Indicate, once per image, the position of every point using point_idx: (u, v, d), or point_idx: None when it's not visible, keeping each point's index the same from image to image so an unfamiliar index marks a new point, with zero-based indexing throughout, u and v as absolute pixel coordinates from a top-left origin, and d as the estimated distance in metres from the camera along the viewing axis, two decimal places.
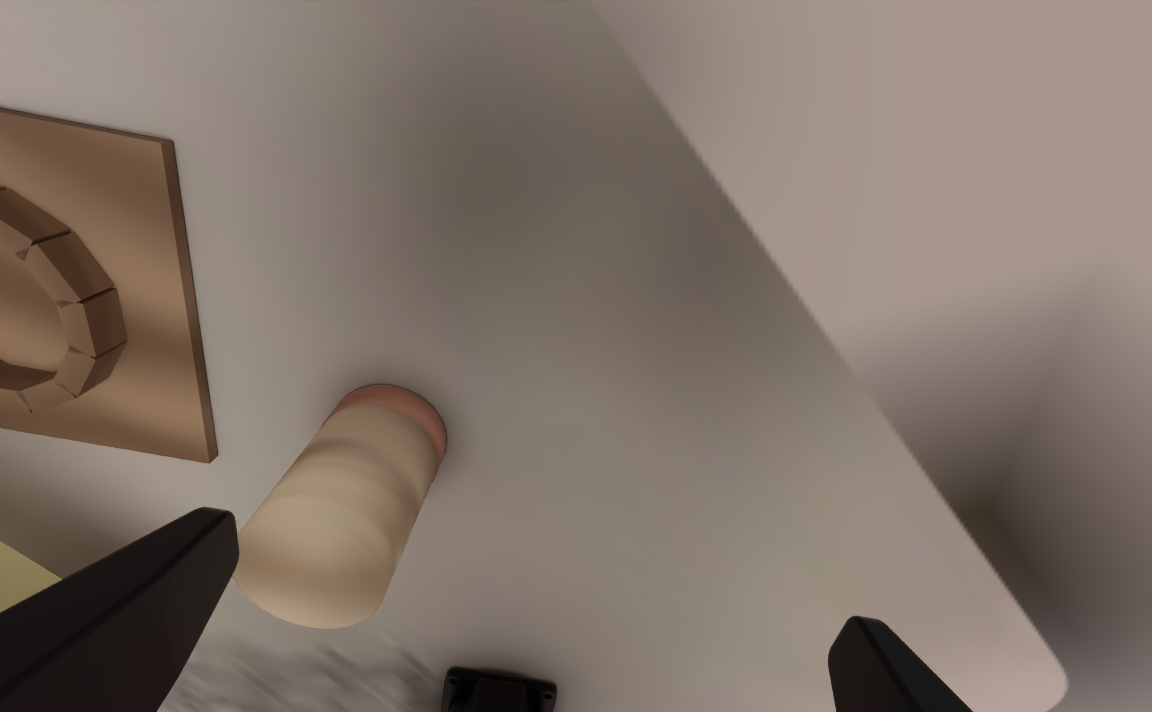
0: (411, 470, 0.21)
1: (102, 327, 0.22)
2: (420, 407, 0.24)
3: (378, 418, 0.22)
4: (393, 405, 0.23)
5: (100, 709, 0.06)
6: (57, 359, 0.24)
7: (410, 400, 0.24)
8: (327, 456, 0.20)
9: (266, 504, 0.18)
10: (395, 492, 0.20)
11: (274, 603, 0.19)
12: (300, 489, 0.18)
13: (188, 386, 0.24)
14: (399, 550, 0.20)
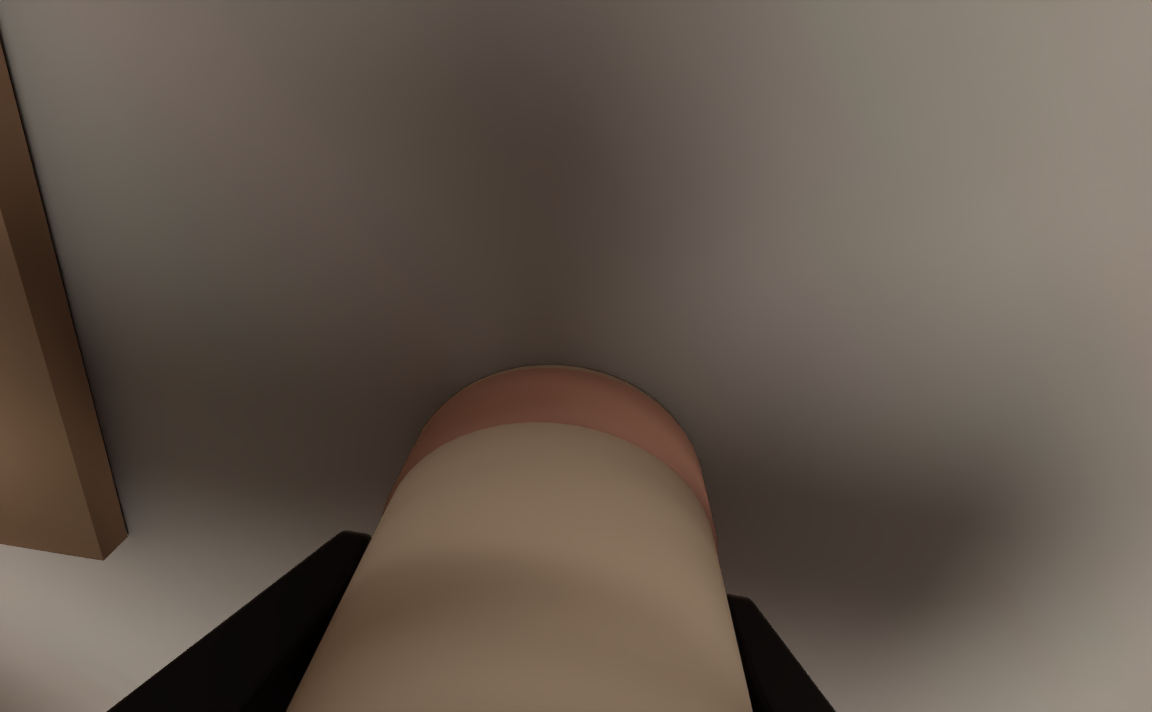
0: (737, 658, 0.06)
1: None
2: (668, 428, 0.08)
3: (595, 469, 0.07)
4: (613, 423, 0.08)
5: None
6: None
7: (642, 408, 0.08)
8: (479, 663, 0.04)
9: None
10: None
11: None
12: None
13: (21, 369, 0.09)
14: None
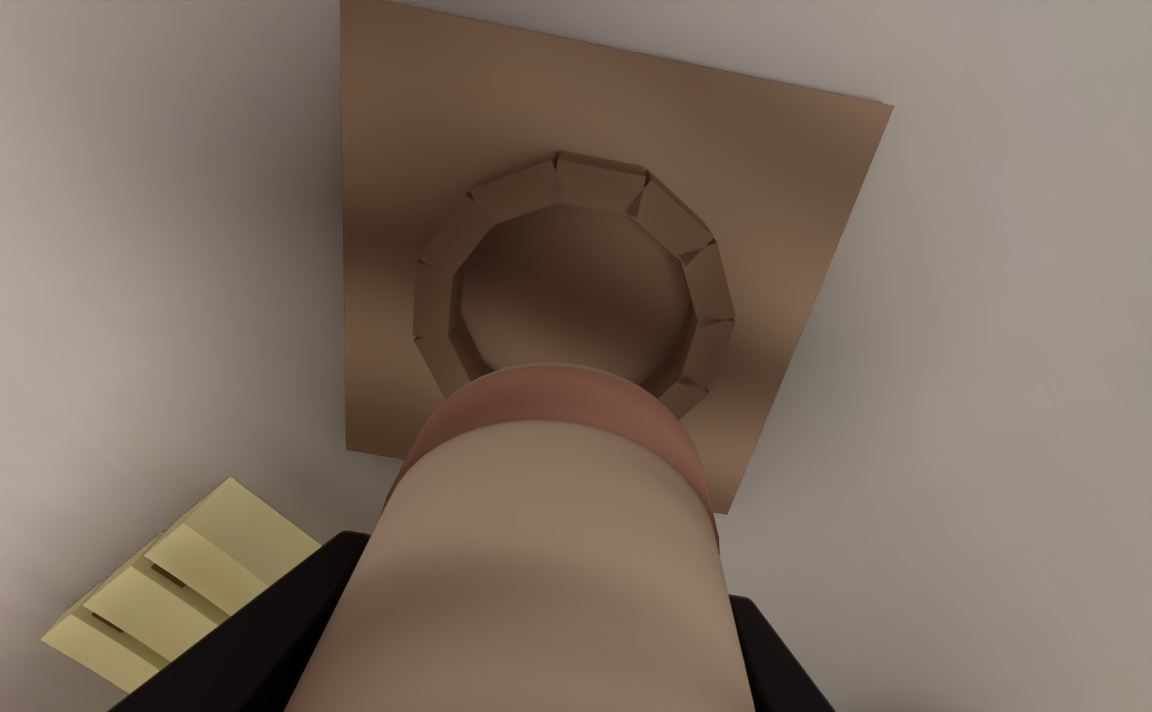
0: (739, 656, 0.06)
1: None
2: (669, 426, 0.08)
3: (595, 467, 0.07)
4: (614, 420, 0.08)
5: None
6: None
7: (643, 406, 0.08)
8: (479, 663, 0.04)
9: None
10: None
11: None
12: None
13: (751, 423, 0.19)
14: None
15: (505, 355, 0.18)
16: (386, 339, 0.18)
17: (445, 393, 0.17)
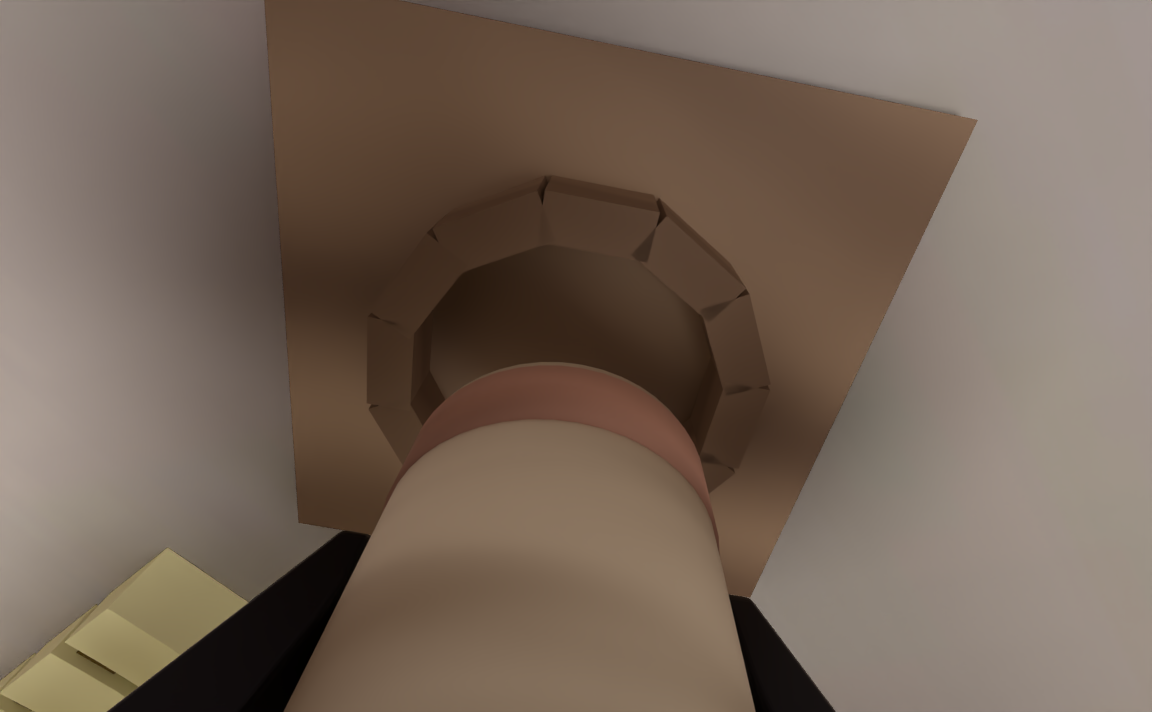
0: (739, 656, 0.06)
1: None
2: (669, 425, 0.08)
3: (595, 466, 0.07)
4: (613, 420, 0.08)
5: None
6: None
7: (643, 406, 0.08)
8: (479, 662, 0.04)
9: None
10: None
11: None
12: None
13: (782, 497, 0.16)
14: None
15: None
16: (341, 399, 0.15)
17: None
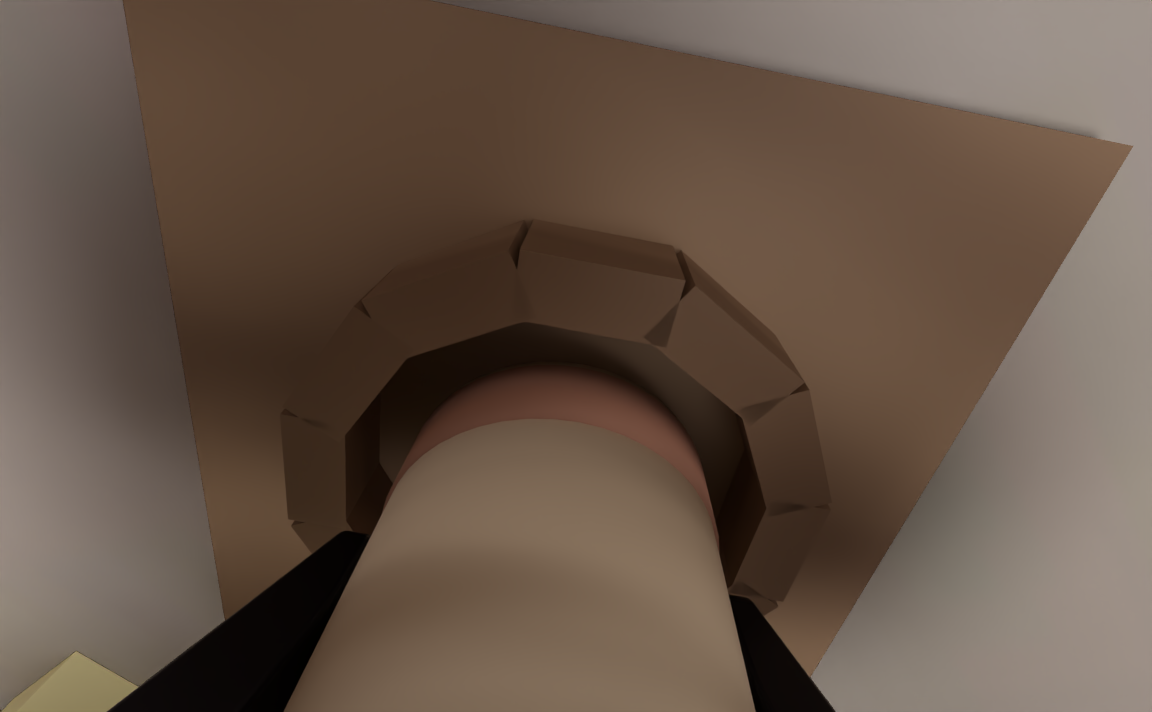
0: (739, 655, 0.06)
1: None
2: (669, 425, 0.08)
3: (596, 466, 0.07)
4: (614, 419, 0.08)
5: None
6: None
7: (643, 405, 0.08)
8: (479, 660, 0.04)
9: None
10: None
11: None
12: None
13: (829, 612, 0.12)
14: None
15: None
16: (268, 495, 0.12)
17: None
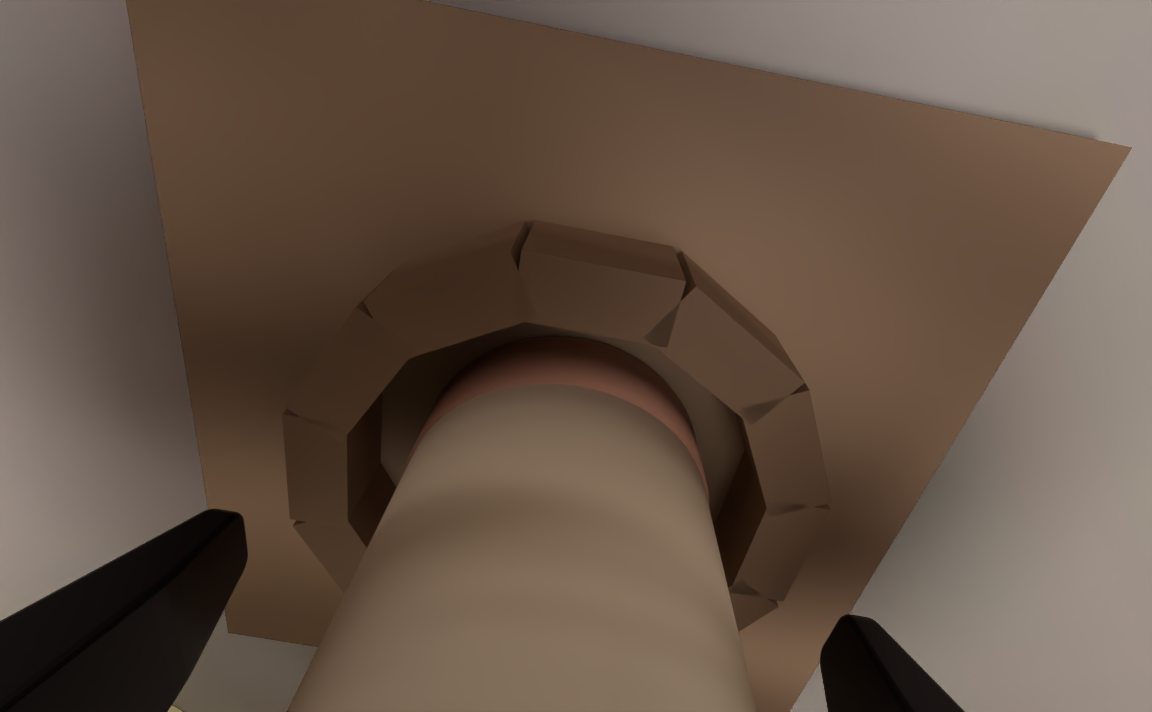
0: (724, 583, 0.07)
1: None
2: (663, 392, 0.09)
3: (598, 421, 0.08)
4: (614, 384, 0.08)
5: (112, 711, 0.06)
6: None
7: (640, 374, 0.09)
8: (501, 565, 0.05)
9: None
10: (746, 693, 0.05)
11: None
12: None
13: (829, 612, 0.12)
14: None
15: None
16: (269, 495, 0.12)
17: None
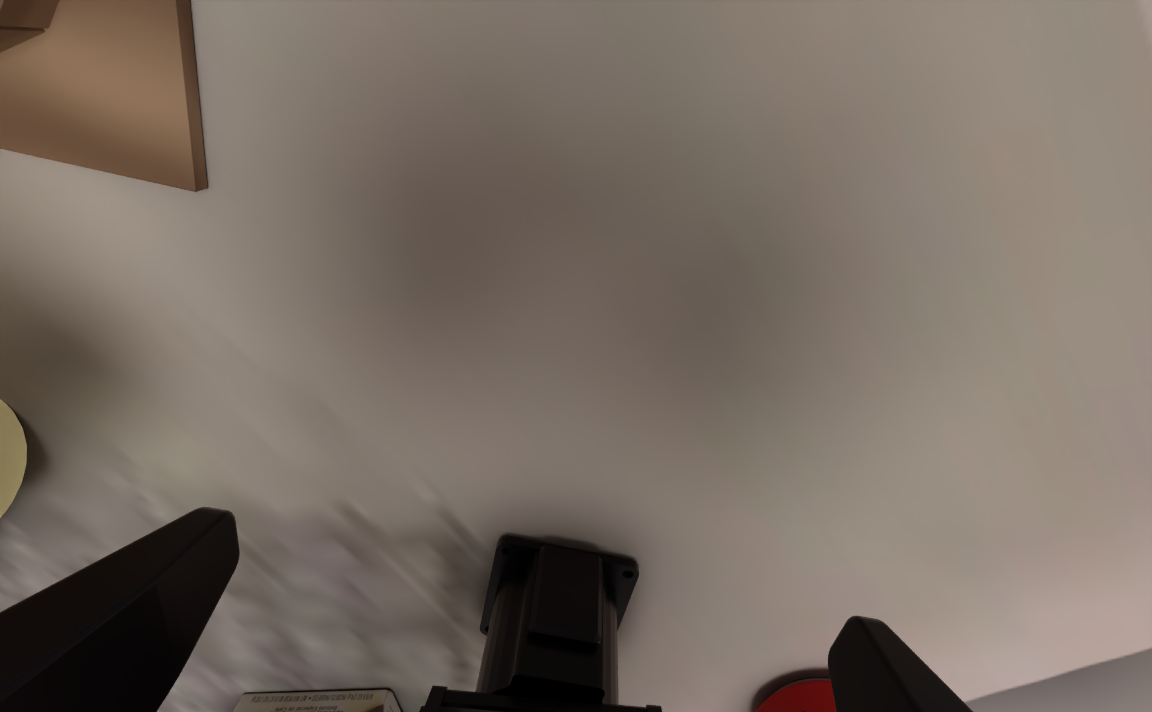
0: None
1: None
2: None
3: None
4: None
5: (100, 709, 0.06)
6: None
7: None
8: None
9: None
10: None
11: None
12: None
13: (166, 48, 0.16)
14: None
15: None
16: None
17: None
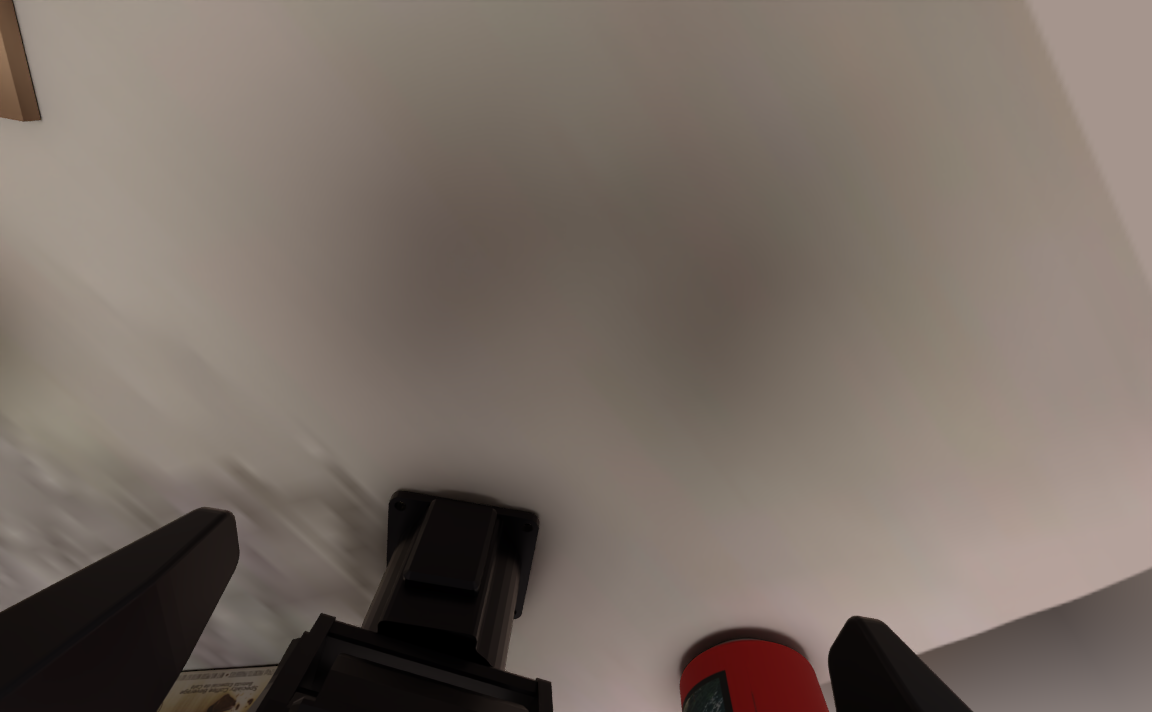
0: None
1: None
2: None
3: None
4: None
5: (100, 709, 0.06)
6: None
7: None
8: None
9: None
10: None
11: None
12: None
13: None
14: None
15: None
16: None
17: None
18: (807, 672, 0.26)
